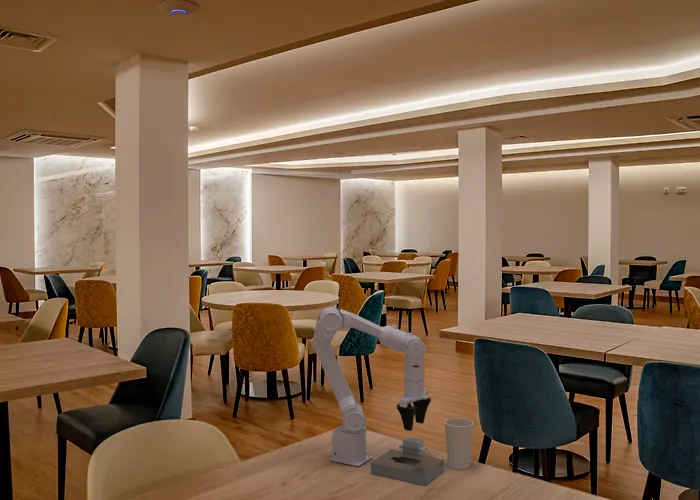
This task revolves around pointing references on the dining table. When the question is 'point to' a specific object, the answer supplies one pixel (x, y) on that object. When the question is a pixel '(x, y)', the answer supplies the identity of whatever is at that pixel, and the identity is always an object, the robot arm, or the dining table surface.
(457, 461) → the cup
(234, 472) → the dining table surface
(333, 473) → the dining table surface
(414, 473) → the chassis
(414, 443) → the block
